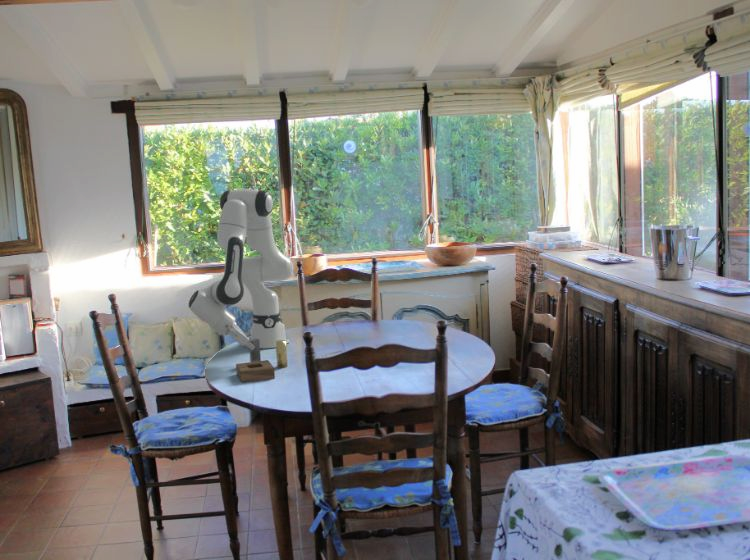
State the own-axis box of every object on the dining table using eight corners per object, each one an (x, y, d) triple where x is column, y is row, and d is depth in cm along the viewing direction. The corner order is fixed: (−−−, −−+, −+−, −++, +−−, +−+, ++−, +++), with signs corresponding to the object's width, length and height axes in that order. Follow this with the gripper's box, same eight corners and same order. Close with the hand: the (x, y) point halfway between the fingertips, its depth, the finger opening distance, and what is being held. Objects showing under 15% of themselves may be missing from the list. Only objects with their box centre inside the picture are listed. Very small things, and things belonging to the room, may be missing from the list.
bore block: (236, 374, 270) (236, 363, 269) (268, 370, 274) (267, 360, 273) (241, 382, 259) (241, 371, 258) (274, 378, 262) (274, 367, 262)
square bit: (250, 364, 284) (248, 339, 283) (259, 362, 285) (257, 338, 284) (251, 366, 281) (250, 341, 279) (261, 365, 282) (259, 340, 280)
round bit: (276, 365, 280) (274, 340, 278) (286, 364, 281) (285, 339, 279) (278, 368, 276) (276, 342, 274) (288, 367, 277) (287, 341, 276)
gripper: (233, 322, 268) (261, 345, 272) (226, 313, 287) (252, 334, 291) (222, 335, 267) (250, 357, 271) (215, 325, 286) (242, 346, 291)
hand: (251, 345), depth 281 cm, fingers open, 8 cm apart
